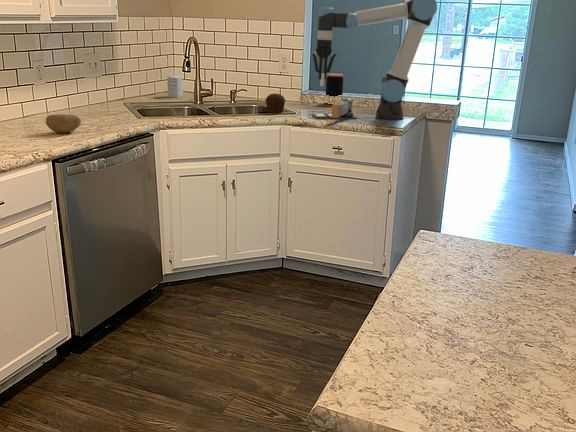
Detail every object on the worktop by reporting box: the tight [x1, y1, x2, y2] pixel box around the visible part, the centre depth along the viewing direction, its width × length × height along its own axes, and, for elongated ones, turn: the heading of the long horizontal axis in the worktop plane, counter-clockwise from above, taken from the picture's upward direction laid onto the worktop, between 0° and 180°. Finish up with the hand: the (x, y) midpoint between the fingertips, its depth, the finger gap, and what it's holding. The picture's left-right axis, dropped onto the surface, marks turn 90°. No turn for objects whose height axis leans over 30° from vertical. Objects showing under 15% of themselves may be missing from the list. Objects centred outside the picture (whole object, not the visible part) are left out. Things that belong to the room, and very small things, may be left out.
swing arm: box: [331, 97, 354, 118], centre depth 304 cm, size 23×5×7 cm, turn 157°
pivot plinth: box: [340, 112, 358, 120], centre depth 314 cm, size 9×9×3 cm
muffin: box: [264, 93, 286, 114], centre depth 322 cm, size 12×11×10 cm
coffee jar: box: [325, 73, 344, 96], centre depth 362 cm, size 11×11×18 cm
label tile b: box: [311, 113, 329, 120], centre depth 311 cm, size 6×10×1 cm, turn 11°
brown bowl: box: [45, 113, 82, 134], centre depth 246 cm, size 10×14×8 cm
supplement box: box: [166, 75, 184, 99], centre depth 367 cm, size 7×7×13 cm
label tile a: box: [324, 113, 341, 120], centre depth 312 cm, size 6×10×1 cm, turn 11°
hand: (321, 85), depth 306 cm, fingers closed
